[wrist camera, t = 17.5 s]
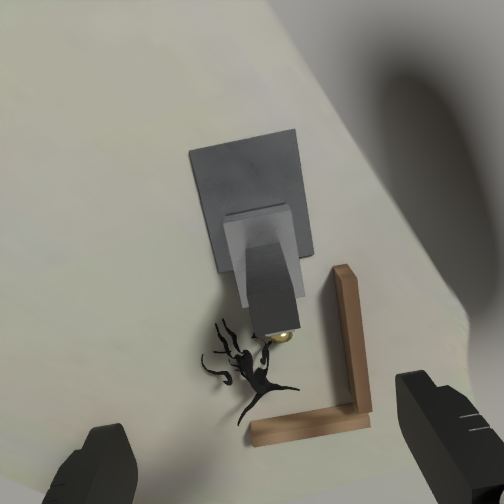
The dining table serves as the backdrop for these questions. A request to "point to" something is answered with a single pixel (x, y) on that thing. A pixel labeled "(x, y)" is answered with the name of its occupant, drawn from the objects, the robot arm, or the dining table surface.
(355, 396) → the wooden l-shaped sticks
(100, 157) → the dining table surface
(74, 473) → the robot arm
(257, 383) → the creature
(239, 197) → the base
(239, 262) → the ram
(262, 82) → the dining table surface
